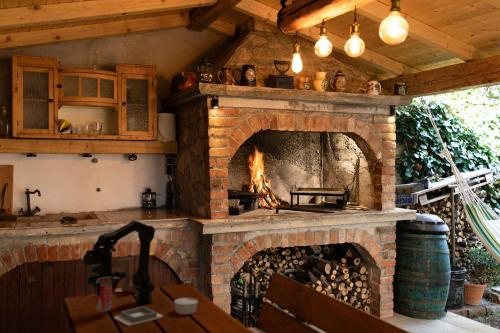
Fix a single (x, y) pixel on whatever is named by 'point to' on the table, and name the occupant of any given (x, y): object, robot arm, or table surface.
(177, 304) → the ramekin
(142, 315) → the holder board
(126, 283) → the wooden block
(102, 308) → the soda can
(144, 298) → the robot arm
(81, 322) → the table surface
